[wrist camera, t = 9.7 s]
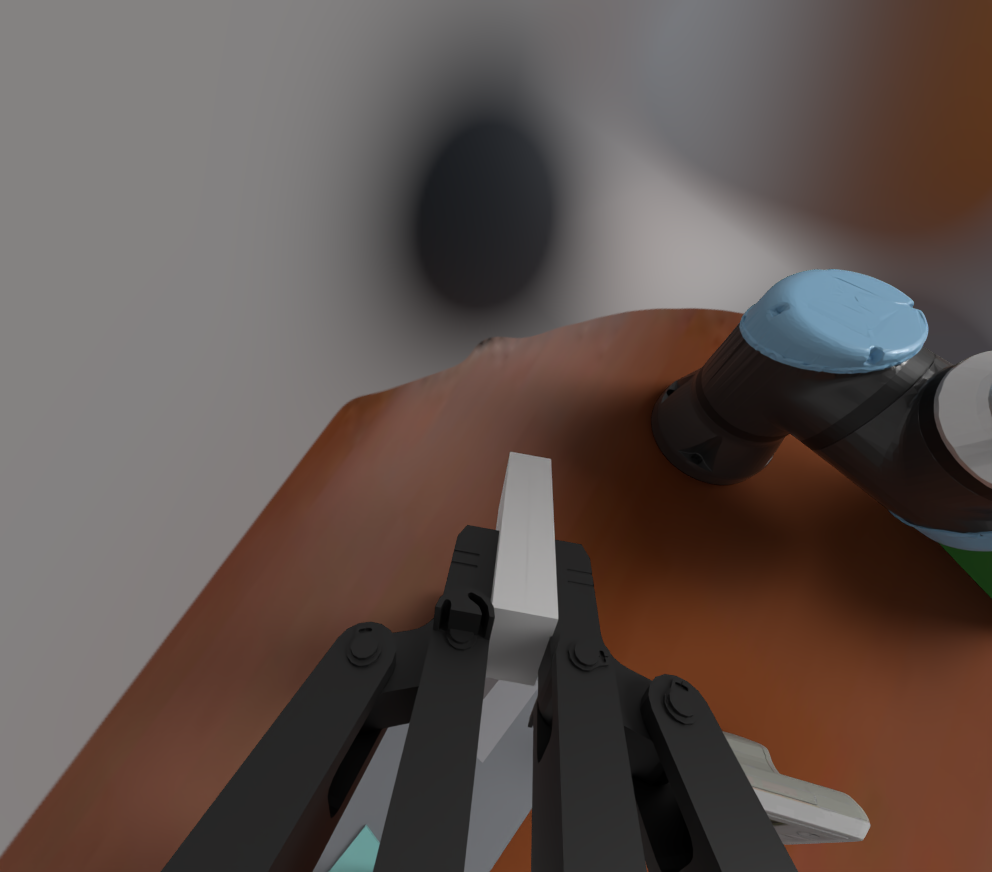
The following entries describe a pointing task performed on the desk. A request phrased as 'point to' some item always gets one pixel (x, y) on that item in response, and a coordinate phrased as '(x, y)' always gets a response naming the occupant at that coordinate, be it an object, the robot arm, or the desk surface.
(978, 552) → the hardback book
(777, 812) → the digital clock
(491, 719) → the lever
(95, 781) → the desk surface
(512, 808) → the switch unit
